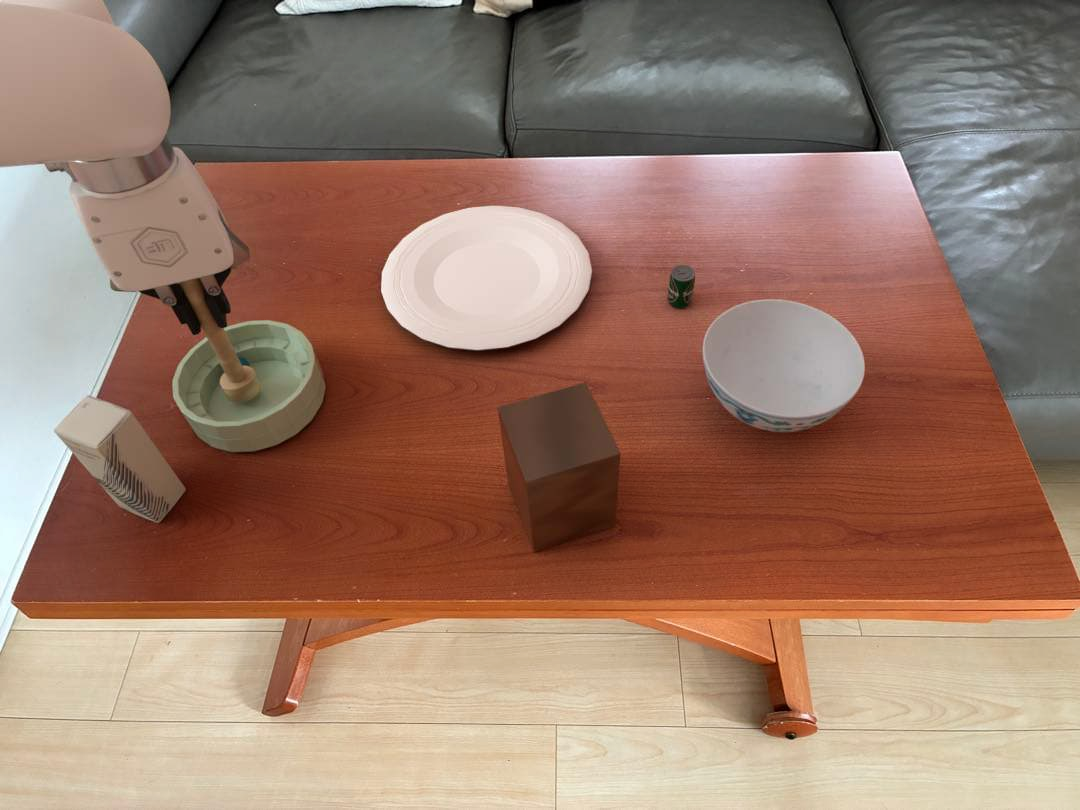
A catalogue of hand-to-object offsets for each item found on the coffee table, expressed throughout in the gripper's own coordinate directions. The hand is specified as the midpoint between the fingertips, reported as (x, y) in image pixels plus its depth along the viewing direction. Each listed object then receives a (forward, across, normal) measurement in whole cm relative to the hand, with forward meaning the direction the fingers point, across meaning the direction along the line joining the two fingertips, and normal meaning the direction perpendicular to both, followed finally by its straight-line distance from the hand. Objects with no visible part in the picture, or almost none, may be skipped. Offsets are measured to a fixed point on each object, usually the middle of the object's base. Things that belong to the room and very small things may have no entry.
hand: (209, 320), depth 74 cm
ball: (+9, 0, +2) cm, 9 cm away
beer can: (+11, +49, -3) cm, 50 cm away
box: (+11, -10, -10) cm, 18 cm away
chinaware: (+11, +51, -20) cm, 56 cm away
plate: (+11, +29, +8) cm, 32 cm away
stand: (+11, +27, -24) cm, 38 cm away
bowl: (+11, +1, -1) cm, 11 cm away
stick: (+9, 0, -1) cm, 9 cm away
